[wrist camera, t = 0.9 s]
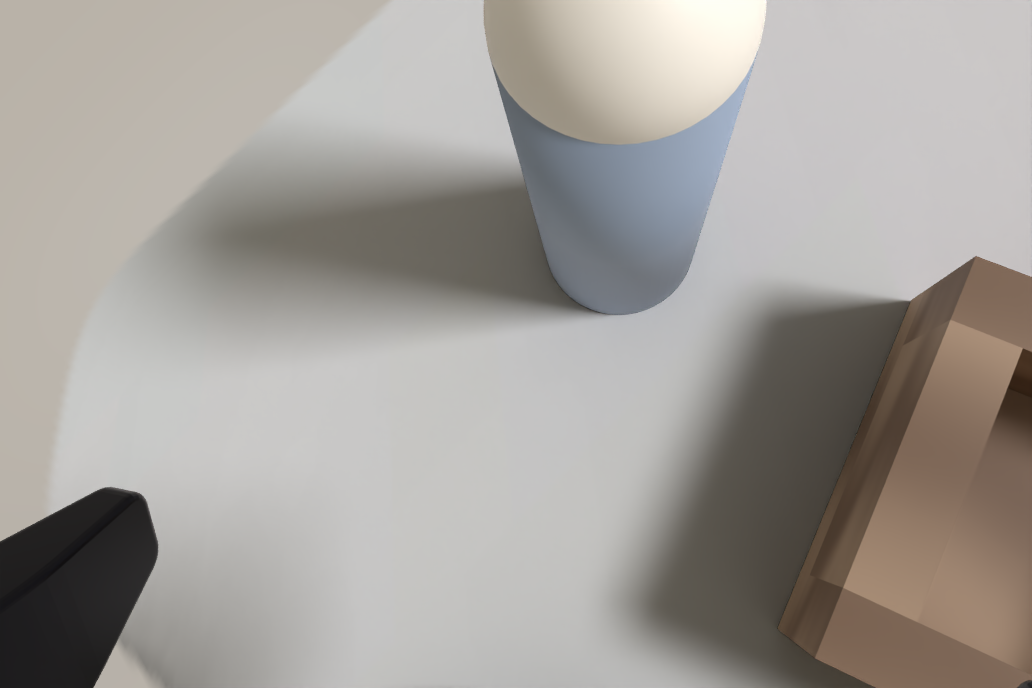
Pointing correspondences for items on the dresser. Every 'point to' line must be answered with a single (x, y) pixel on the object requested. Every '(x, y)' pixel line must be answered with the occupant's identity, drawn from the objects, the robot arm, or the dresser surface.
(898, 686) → the open wooden box
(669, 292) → the dome-topped blue cylinder
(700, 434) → the dresser surface
